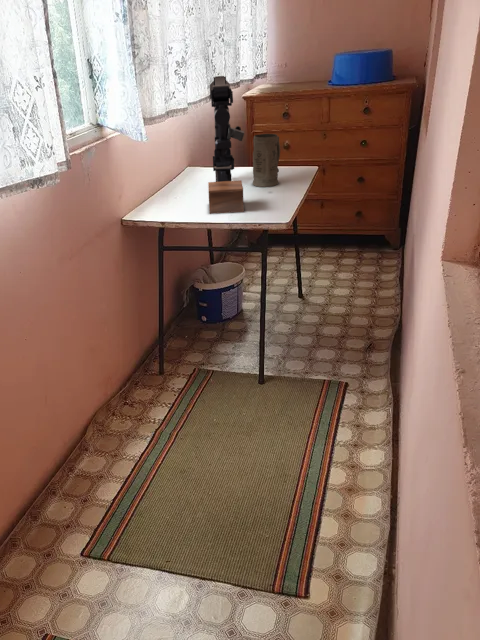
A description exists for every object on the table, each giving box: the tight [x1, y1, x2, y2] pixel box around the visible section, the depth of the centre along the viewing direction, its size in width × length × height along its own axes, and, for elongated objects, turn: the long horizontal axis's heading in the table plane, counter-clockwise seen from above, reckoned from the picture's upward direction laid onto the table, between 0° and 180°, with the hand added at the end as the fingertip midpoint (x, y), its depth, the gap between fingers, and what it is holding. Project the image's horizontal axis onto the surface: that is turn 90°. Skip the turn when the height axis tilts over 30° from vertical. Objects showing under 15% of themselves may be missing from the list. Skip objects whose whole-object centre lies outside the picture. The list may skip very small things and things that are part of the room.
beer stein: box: [252, 133, 281, 188], centre depth 255 cm, size 15×11×20 cm
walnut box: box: [208, 190, 245, 215], centre depth 227 cm, size 13×13×8 cm
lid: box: [207, 179, 244, 194], centre depth 225 cm, size 13×13×1 cm
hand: (223, 163), depth 242 cm, fingers closed
